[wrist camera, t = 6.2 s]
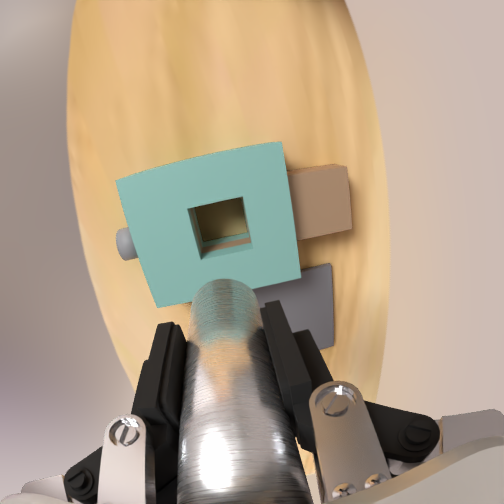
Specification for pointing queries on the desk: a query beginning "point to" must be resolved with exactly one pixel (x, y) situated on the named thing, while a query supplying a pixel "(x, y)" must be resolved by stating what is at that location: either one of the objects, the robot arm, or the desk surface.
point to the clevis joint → (255, 212)
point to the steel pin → (234, 408)
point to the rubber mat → (305, 302)
